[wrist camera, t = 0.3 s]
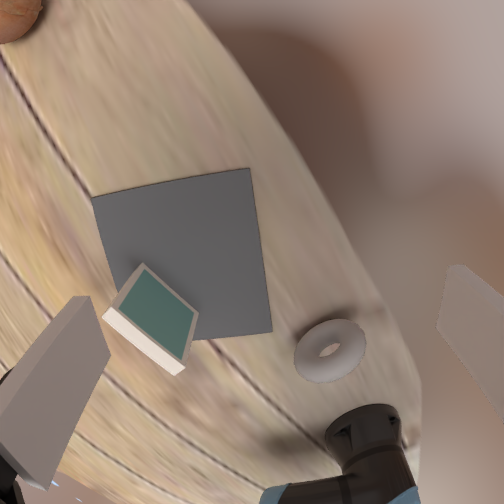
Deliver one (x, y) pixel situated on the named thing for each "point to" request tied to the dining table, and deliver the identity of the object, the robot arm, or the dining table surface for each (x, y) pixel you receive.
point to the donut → (334, 363)
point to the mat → (193, 247)
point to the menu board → (154, 319)
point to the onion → (17, 18)
